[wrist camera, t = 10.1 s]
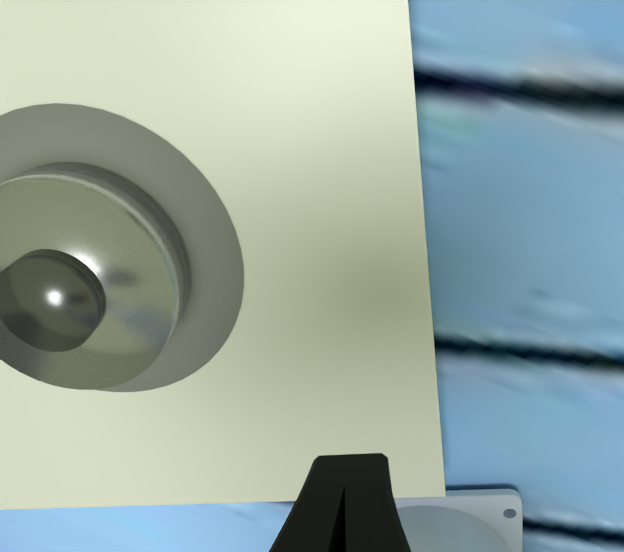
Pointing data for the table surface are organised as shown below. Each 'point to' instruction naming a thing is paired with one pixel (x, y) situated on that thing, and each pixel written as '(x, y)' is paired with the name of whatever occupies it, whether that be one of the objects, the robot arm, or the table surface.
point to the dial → (86, 276)
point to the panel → (235, 246)
